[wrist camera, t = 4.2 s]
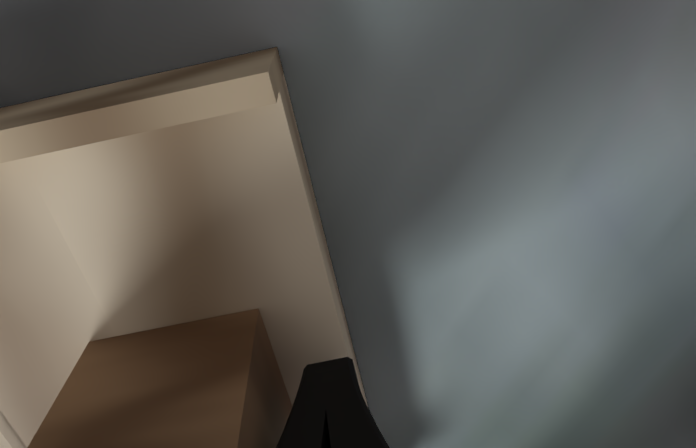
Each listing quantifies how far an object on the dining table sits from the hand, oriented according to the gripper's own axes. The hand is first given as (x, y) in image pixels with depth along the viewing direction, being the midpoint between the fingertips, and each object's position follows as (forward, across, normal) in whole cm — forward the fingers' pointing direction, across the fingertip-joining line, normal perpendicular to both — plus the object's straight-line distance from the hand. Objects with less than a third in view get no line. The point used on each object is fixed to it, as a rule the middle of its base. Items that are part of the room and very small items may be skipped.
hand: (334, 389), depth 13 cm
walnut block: (+1, +4, 0) cm, 4 cm away
